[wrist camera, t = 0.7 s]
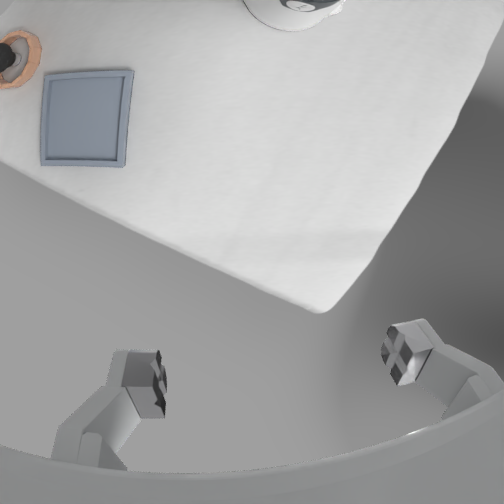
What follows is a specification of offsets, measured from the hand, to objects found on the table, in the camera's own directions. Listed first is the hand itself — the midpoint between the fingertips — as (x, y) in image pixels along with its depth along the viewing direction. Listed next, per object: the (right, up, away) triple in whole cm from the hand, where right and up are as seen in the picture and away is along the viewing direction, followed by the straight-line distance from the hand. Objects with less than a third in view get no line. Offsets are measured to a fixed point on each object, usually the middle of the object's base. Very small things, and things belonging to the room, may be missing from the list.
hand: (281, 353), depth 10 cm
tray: (-29, +26, +32) cm, 50 cm away
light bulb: (-42, +38, +24) cm, 62 cm away
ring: (-42, +37, +24) cm, 62 cm away
